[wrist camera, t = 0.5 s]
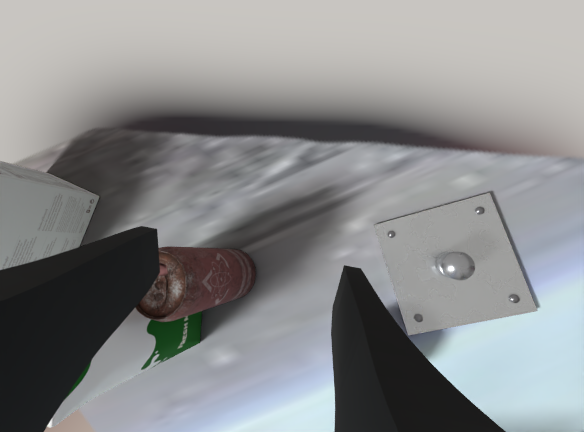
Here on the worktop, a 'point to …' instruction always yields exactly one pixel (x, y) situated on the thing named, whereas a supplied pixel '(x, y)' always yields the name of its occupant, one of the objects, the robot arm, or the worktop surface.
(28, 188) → the supplement box
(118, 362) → the milk carton
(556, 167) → the worktop surface
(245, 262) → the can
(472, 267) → the duct plate
